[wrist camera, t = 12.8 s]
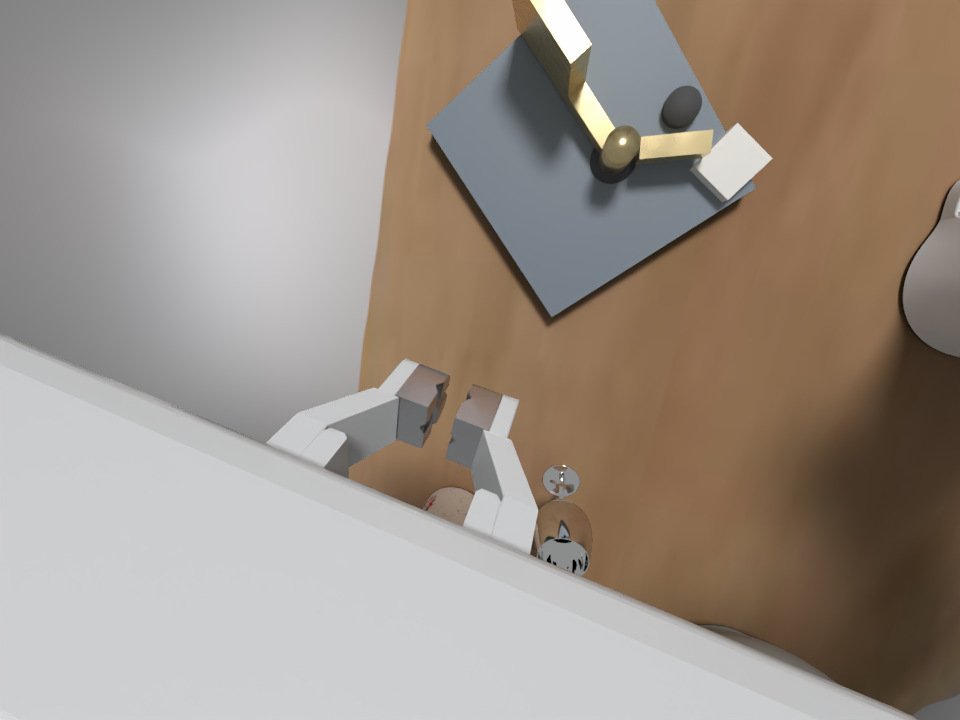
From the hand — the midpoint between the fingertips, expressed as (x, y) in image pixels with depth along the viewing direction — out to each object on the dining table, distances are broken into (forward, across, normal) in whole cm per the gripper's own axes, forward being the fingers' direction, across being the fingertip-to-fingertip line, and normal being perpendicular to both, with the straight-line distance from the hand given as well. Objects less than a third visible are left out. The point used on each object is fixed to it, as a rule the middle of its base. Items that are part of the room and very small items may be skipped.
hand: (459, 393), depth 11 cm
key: (+31, 0, -7) cm, 32 cm away
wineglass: (+21, -11, +28) cm, 37 cm away
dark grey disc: (+32, -7, -9) cm, 33 cm away
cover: (+31, -12, -6) cm, 34 cm away
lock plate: (+32, 0, -3) cm, 32 cm away
